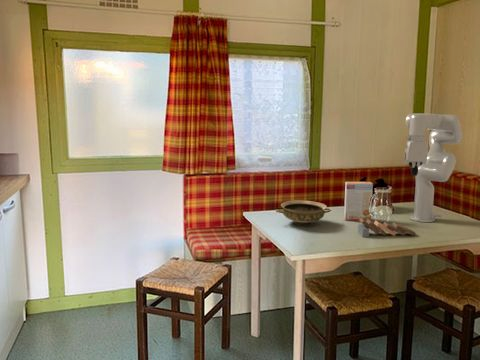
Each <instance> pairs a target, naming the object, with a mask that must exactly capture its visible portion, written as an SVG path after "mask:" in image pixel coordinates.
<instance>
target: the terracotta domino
mask: <svg viewBox="0 0 480 360" xmlns="http://www.w3.org/2000/svg"><path fill="white" fill-rule="evenodd" d="M373 223H374V224H375V225H376V226H378V227H379V228H381V229H382V230H384V231H385V232H386V233H389V234H390V235H392V236H393V237H395V236H396V234H397V232H395V231H393V230H390V229H388V228H386V227H385V226H384V225H383V224H384V223H381V222H379V221H377V220H375V221H374V222H373Z"/></svg>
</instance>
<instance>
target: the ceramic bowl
mask: <svg viewBox="0 0 480 360" xmlns="http://www.w3.org/2000/svg"><path fill="white" fill-rule="evenodd" d="M280 207H281V208H282V209H278V208H277V209H275V212H276V213H278V214H283V216H284V217H285V219H287V220H290V221H293V222H294V224H296V225H298V226H309V225H311V223H313V222H317V221H319V220H321V219H323V218H324V215H325V214H326V213H331V212H332V209H331V208H328V207H327V205H326V204H325V203H321V202H317V201H311V200H298V199H297V200H288V201H284V202H282V203H281V204H280Z"/></svg>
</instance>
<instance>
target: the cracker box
mask: <svg viewBox="0 0 480 360" xmlns="http://www.w3.org/2000/svg"><path fill="white" fill-rule="evenodd" d="M344 183H345V184H344V209H343V210H344V213H343V214H344V215H343V216H344V217H343V218H344V220H345V221H354V222H355V221H357V222H358V221H359V219H360V218H362V219H363V220H364V221H366V220H367V219H369V220H370V221H371V222H372V214H371V215H370V212H369V207H370V206H369V203H370V202H369V201H370V200H369V199H370V198H371V197H372V192H373V185H374V183H373V182H372V181H366V182H359V181H345V182H344ZM359 222H360V221H359Z"/></svg>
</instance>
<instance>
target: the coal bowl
mask: <svg viewBox="0 0 480 360" xmlns="http://www.w3.org/2000/svg"><path fill="white" fill-rule="evenodd" d="M367 178H368V177H367V176H364V177H362V178H361V179H359V181H358V182H367ZM374 182H376V183H375V184H373V192H372V195H373V194H374V188H376V187H389V186H388V184H387V182H385V179H384V178H381V177H380V178H377V179H374Z"/></svg>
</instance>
